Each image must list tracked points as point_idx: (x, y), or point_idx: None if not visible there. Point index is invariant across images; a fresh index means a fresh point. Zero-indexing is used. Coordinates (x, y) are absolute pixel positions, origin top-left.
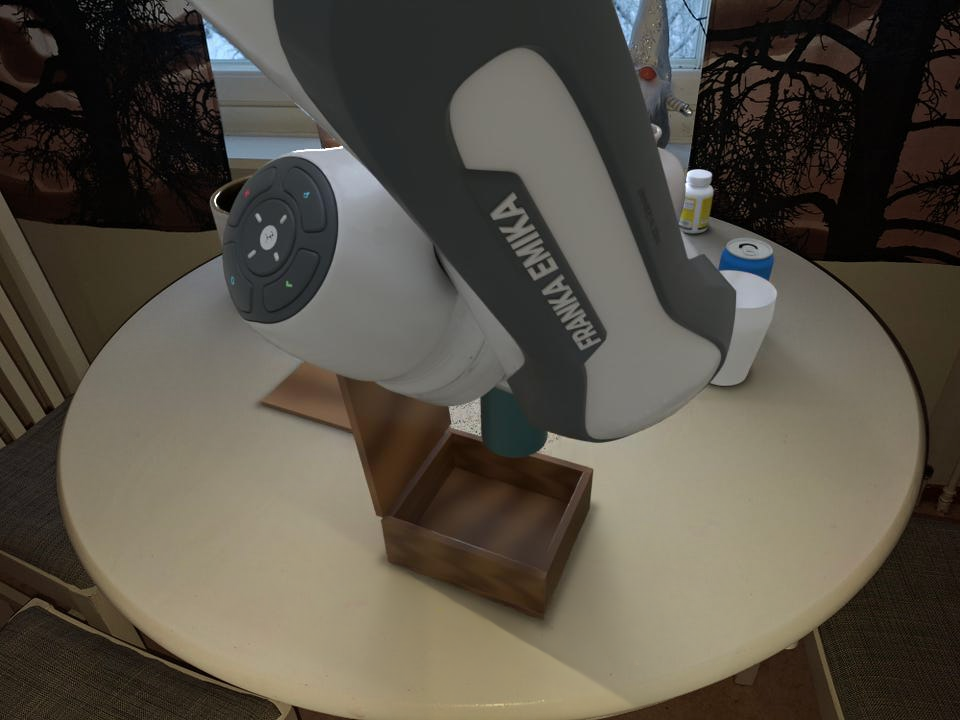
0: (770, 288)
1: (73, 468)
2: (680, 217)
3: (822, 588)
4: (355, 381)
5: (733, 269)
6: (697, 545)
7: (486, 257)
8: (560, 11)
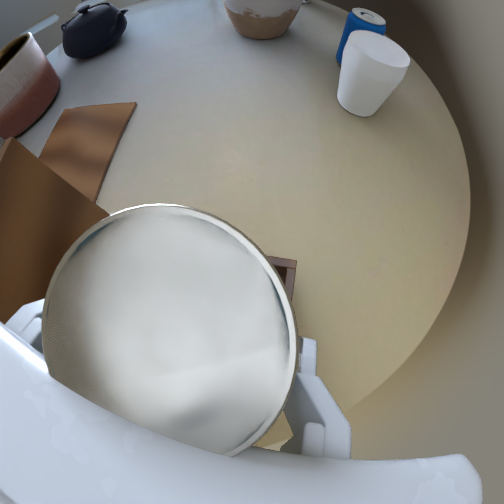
0: (399, 49)
1: None
2: None
3: (443, 298)
4: None
5: (361, 29)
6: (375, 286)
7: None
8: None
